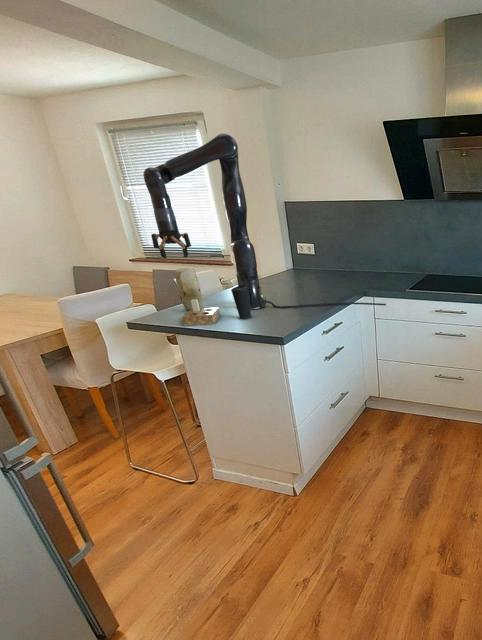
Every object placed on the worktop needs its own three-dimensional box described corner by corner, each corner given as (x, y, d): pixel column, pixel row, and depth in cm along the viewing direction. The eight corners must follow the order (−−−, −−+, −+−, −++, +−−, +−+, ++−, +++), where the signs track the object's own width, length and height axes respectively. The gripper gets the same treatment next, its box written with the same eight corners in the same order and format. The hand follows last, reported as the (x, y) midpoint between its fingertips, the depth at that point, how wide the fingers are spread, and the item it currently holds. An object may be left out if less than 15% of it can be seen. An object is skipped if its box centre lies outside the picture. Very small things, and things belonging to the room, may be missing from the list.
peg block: (220, 315, 178) (218, 307, 177) (214, 323, 167) (212, 314, 166) (192, 317, 176) (190, 309, 174) (184, 325, 165) (181, 316, 163)
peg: (202, 318, 175) (197, 299, 171) (200, 319, 173) (196, 300, 169) (196, 318, 174) (192, 299, 170) (195, 320, 172) (190, 300, 168)
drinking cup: (237, 321, 171) (228, 276, 162) (235, 316, 177) (226, 273, 168) (255, 318, 174) (247, 274, 166) (253, 314, 180) (245, 271, 172)
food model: (206, 306, 192) (197, 266, 183) (203, 310, 186) (193, 269, 178) (184, 308, 189) (174, 267, 181) (181, 312, 183) (170, 270, 175)
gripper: (143, 220, 159) (154, 259, 166) (181, 219, 162) (190, 258, 169) (150, 219, 166) (161, 257, 172) (186, 218, 169) (195, 255, 175)
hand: (175, 257), depth 171 cm, fingers open, 8 cm apart
